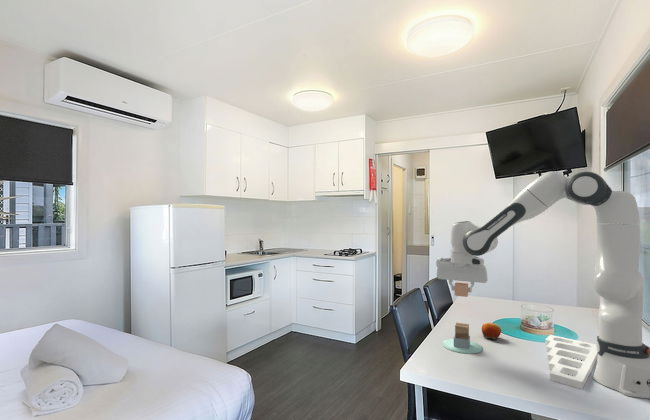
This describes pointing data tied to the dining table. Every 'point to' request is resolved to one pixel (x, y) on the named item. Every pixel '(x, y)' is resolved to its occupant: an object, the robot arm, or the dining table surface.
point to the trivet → (570, 360)
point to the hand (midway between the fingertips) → (461, 291)
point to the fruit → (491, 330)
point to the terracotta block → (461, 289)
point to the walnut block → (462, 331)
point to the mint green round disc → (462, 345)
